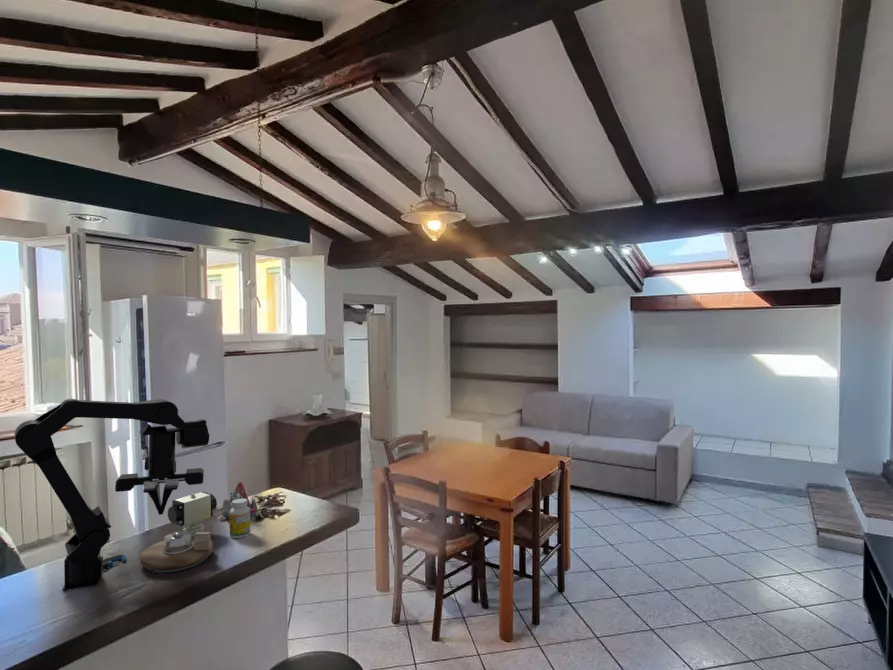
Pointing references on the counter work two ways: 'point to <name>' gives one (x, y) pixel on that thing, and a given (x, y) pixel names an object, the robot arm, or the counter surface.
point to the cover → (177, 543)
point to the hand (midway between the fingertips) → (161, 514)
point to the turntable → (160, 561)
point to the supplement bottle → (239, 519)
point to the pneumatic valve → (192, 511)
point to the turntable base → (177, 568)
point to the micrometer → (109, 561)
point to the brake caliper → (235, 495)
